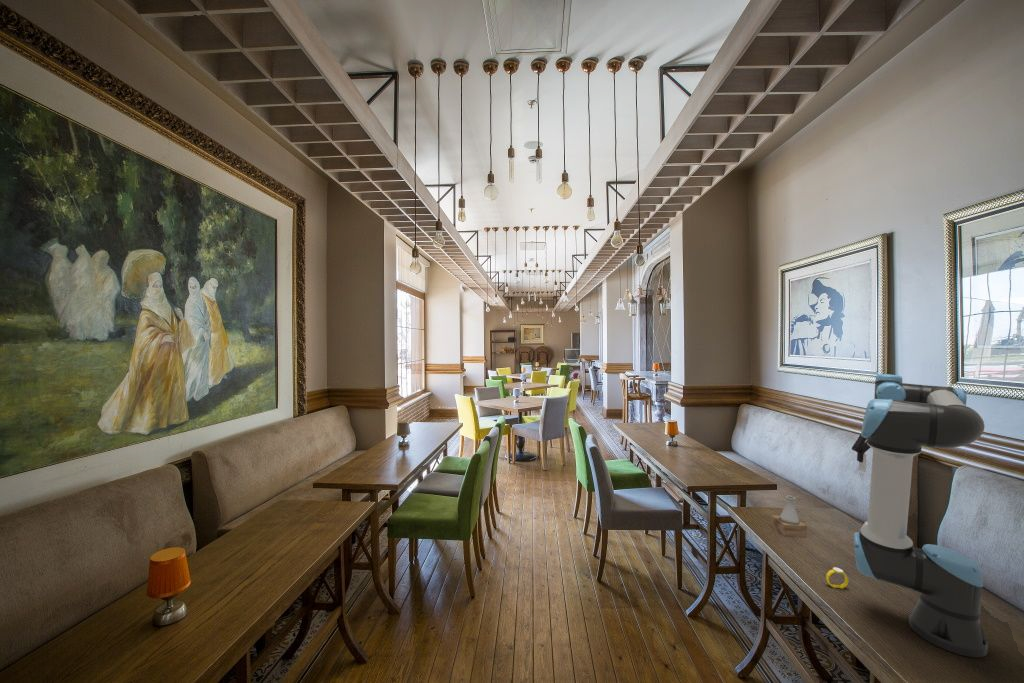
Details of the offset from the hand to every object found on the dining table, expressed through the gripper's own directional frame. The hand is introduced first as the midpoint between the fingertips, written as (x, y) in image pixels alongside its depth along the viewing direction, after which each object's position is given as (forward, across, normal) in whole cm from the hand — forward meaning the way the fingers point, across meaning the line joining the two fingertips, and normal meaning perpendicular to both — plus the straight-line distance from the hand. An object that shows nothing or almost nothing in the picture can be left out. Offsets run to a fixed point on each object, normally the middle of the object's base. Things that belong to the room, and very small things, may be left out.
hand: (882, 472), depth 159 cm
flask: (+27, +25, -13) cm, 39 cm away
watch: (+32, +27, +26) cm, 49 cm away
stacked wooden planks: (+32, +25, -13) cm, 43 cm away
